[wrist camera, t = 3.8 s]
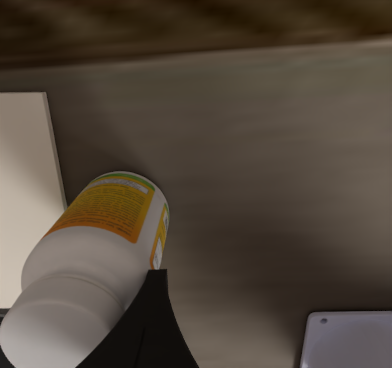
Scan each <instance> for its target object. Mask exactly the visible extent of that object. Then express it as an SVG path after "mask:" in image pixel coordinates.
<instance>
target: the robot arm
mask: <svg viewBox="0 0 392 368" xmlns="http://www.w3.org/2000/svg"><path fill="white" fill-rule="evenodd" d="M324 318H325V319H324ZM321 319H323V320H321ZM75 368H199V366H198V365H197V363H196V361H195V360H194V358H193V356H192V354H191V352H190V350H189V348H188V346H187V344H186V342H185V340H184V338H183V336H182V334H181V331H180V329H179V326H178V324H177V321H176V319H175V316H174V313H173V310H172V306H171V303H170V299H169V295H168V280H167V269H149V270H148V272H147V275H146V278H145V281H144V283H143V285H142V287H141V288H140V290H139V292H138V293H137V295H136V296H135V298H134V300H133V301H132V303H131V304H130V306H129V307H128V309H127V310H126V311H125V313H124V314H123V315H122V317H121V318H120V319H119V321H118V322H117V323H116V325H115V326H114V327H113V328H112V330H111V331H110V332H109V333H108V334H107V335H106V337H105V338H104V339H103V340H102V341H101V342H100V343H99V344H98V345H97V346H96V348H95V349H94V350H93V351H92V352H91V353H90V354H89V355H88V356H87V357H86V358H85V359H84V360H83V361H82V362H81V363H79V364H78V365H77V366H76V367H75ZM300 368H392V311H354V312H313V313H311V314H310V315H309V316H308V320H307V326H306V332H305V338H304V344H303V350H302V356H301V362H300Z"/></svg>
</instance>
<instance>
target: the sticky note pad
mask: <svg viewBox="0 0 392 368" xmlns="http://www.w3.org/2000/svg"><path fill="white" fill-rule="evenodd" d="M66 209H67V203H66V198H65V192H64V187H63V182H62V176H61V171H60V165H59V160H58V155H57V149H56V144H55V138H54V133H53V127H52V122H51V117H50V111H49V106H48V100H47V95H46V92H0V308H11V307H12V305H13V304H14V303H15V301H16V300H17V298H18V297H19V295H20V294H21V293H22V289H21V274H22V269H23V266H24V264H25V261H26V260H27V258H28V256H29V254H30V253H31V251H32V250H33V249H34V247H35V246H36V244H37V243H38V242H39V241H40V240H41V239H42V237H43V236H44V235H45V234H46V233H47V232H48V231H49V229H50V228H51V227H52V226H53V225H54V224H55V222H56V221H57V220H58V219H59V218H60V216H61V215H62V214H63V213H64V212H65V211H66Z"/></svg>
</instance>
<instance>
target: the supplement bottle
mask: <svg viewBox="0 0 392 368" xmlns="http://www.w3.org/2000/svg"><path fill="white" fill-rule="evenodd" d="M168 224H169V208H168V204H167V201H166V199H165V197H164V195H163V193H162V192H161V190H160V189H159V188H158V187H157V186H156V185H155V184H154V183H152V182H151V181H150V180H148V179H146V178H145V177H143V176H140V175H138V174H135V173H132V172H126V171H115V172H110V173H106V174H103V175H101V176H99V177H97V178H95V179H94V180H93V181H91V182H90V183H89V184H88V185H87V186H86V187H85V188H84V189H83V191H82V192H81V193H80V194H79V195H78V196H77V198H76V199H75V200H74V201H73V202H72V204H71V205H70V206H69V207H68V208H67V209H66V211H65V212H64V213H63V214H62V215H61V216H60V218H59V219H58V220H57V221H56V222H55V224H54V225H53V226H52V227H51V228H50V229H49V231H48V232H47V233H46V234H45V235H44V236H43V237H42V239H41V240H40V241H39V242H38V243H37V244H36V246H35V247H34V249H33V250H32V251H31V253H30V254H29V256H28V258H27V260H26V261H25V264H24V266H23V269H22V274H21V289H22V293H21V294H20V295H19V297H18V298H17V300H16V301H15V303H14V304H13V305H12V307H11V308H10V310H9V311H8V313H7V314H6V315H5V317H4V319H3V321H2V323H1V326H0V345H1V348H2V350H3V352H4V354H5V356H6V357H7V359H8V360H9V361H10V362H11V363H12V364H13V365H14V366H15V367H16V368H75V367H76V366H77V365H78V364H79V363H81V362H82V361H83V360H84V359H85V358H86V357H87V356H88V355H89V354H90V353H91V352H92V351H93V350H94V349H95V348H96V346H97V345H98V344H99V343H100V342H101V341H102V340H103V339H104V338H105V337H106V335H107V334H108V333H109V332H110V331H111V330H112V328H113V327H114V326H115V325H116V323H117V322H118V321H119V319H120V318H121V317H122V315H123V314H124V313H125V311H126V310H127V309H128V307H129V306H130V304H131V303H132V301H133V300H134V298H135V296H136V295H137V293H138V292H139V290H140V288H141V287H142V285H143V283H144V281H145V278H146V275H147V272H148V270H149V269H159V267H160V263H161V259H162V253H163V249H164V244H165V239H166V234H167V230H168Z"/></svg>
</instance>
